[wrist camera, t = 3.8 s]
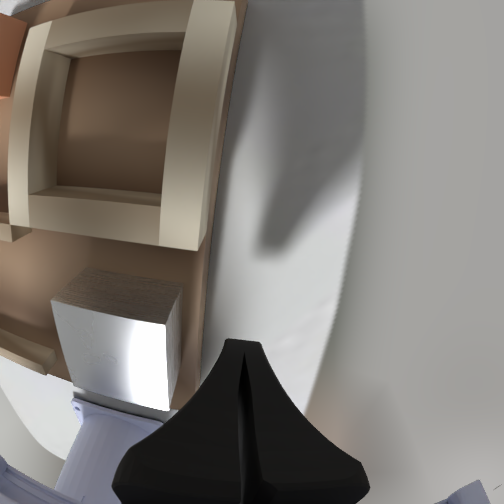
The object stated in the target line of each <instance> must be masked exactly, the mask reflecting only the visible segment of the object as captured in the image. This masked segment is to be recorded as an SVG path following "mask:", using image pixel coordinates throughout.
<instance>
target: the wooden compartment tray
mask: <svg viewBox="0 0 504 504" xmlns="http://www.w3.org/2000/svg"><path fill="white" fill-rule="evenodd" d="M154 1H170V0H50V1H47V2H44V3H42V4H39V5H36V6H34V7H31V8H29V9H26V10H24V11H22V12H19V13H17V14H15V15H12V16H11V17H13V18H16V19H19V20H21V21H24V22H27V23H28V24H27V27H26V30H25V33H24V36H23V40H22V43H21V47H20V51H19V54H18V58H17V63H16V67H15V72H14V76H13V81H12V87H11V93H10V97H8V98H4V99H0V355H1V356H3V357H5V358H7V359H9V360H11V361H13V362H15V363H18V364H20V365H22V366H24V367H26V368H29V369H31V370H33V371H36V372H38V373H41V374H43V375H45V376H46V375H47V374H51V375H53V376H56V377H59V378H61V379H64V380H67V381H70V382H72V380H71V377H70V374H69V370H68V367H67V364H66V361H65V358H64V354H63V351H62V347H61V343H60V340H59V336H58V332H57V328H56V324H55V319H54V315H53V310H52V305H51V299H52V298H53V297H54V296H55V295H56V294H57V293H58V292H59V291H61V290H62V289H63V288H64V287H65V286H66V285H67V284H68V283H69V282H70V281H71V280H73V279H74V278H75V277H76V276H77V275H78V274H79V273H80V272H82V271H83V270H84V269H85V268H86V267H88V268H94V269H99V270H105V271H110V272H116V273H122V274H128V275H133V276H139V277H146V278H152V279H158V280H164V281H171V282H177V283H183V298H182V329H181V367H180V371H179V374H178V378H177V382H176V385H175V389H174V393H173V397H172V401H171V405H170V408H171V409H177V410H180V409H181V408H182V407H183V406H184V405H185V404H186V403H187V402H188V401H189V400H190V398H191V397H192V396H193V395H194V394H195V393H196V391H197V390H198V389H199V385H200V373H201V356H202V341H203V327H204V314H205V302H206V290H207V279H208V269H209V258H210V249H211V239H212V230H213V221H214V212H215V204H216V195H217V187H218V179H219V172H220V164H221V157H222V150H223V143H224V136H225V129H226V122H227V116H228V109H229V103H230V96H231V90H232V84H233V78H234V73H235V67H236V61H237V56H238V50H239V45H240V39H241V34H242V29H243V24H244V19H245V14H246V9H247V4H248V0H220V1H235V9H236V18H237V28H236V33H235V38H234V43H233V49H232V54H231V59H230V65H229V71H228V76H227V82H226V88H225V94H224V101H223V107H222V113H221V120H220V127H219V133H218V140H217V148H216V155H215V162H214V170H213V178H212V186H211V194H210V203H209V212H208V221H207V231H206V234H205V236H204V238H203V240H202V243H201V245H200V247H199V249H198V251H193V250H185V249H178V248H171V247H164V246H156V245H149V244H142V243H135V242H128V241H121V240H114V239H106V238H99V237H92V236H85V235H78V234H72V233H65V232H58V231H51V230H44V229H37V228H30V227H24V226H17V225H10V220H9V206H8V147H9V133H10V122H11V113H12V106H13V99H14V92H15V87H16V81H17V76H18V71H19V67H20V62H21V58H22V54H23V50H24V47H25V43H26V39H27V36H28V33H29V29H30V28H31V27H34V26H37V25H40V24H43V23H46V22H49V21H52V20H56V19H59V18H63V17H66V16H70V15H74V14H78V13H83V12H87V11H92V10H96V9H102V8H107V7H113V6H119V5H126V4H134V3H143V2H154ZM181 53H182V50H154V51H133V52H120V53H110V54H101V55H94V56H87V57H80V58H74V59H71V62H70V66H69V71H68V76H67V81H66V87H65V93H64V99H63V106H62V113H61V121H60V131H59V142H58V157H57V186H72V187H88V188H101V189H114V190H126V191H137V192H147V193H157V194H162V186H163V174H164V164H165V155H166V146H167V138H168V130H169V123H170V115H171V109H172V102H173V96H174V90H175V84H176V78H177V73H178V68H179V62H180V57H181Z"/></svg>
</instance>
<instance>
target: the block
mask: <svg viewBox="0 0 504 504" xmlns="http://www.w3.org/2000/svg"><path fill="white" fill-rule="evenodd" d="M182 298H183V283H177V282H171V281H164V280H158V279H152V278H146V277H139V276H133V275H128V274H122V273H116V272H110V271H105V270H99V269H94V268H88V267H86V268H85V269H84V270H83V271H82V272H80V273H79V274H78V275H77V276H76V277H75V278H74V279H73V280H71V281H70V282H69V283H68V284H67V285H66V286H65V287H64V288H63V289H62V290H61V291H59V292H58V293H57V294H56V295H55V296H54V297H53V298H52V299H51V305H52V310H53V315H54V319H55V324H56V328H57V332H58V336H59V340H60V343H61V347H62V351H63V354H64V358H65V361H66V364H67V367H68V370H69V374H70V377H71V380H72V383H73V385H74V386H76V387H79V388H82V389H85V390H88V391H91V392H94V393H97V394H101V395H104V396H107V397H111V398H115V399H118V400H122V401H126V402H130V403H134V404H138V405H142V406H147V407H151V408H156V409H161V410H166V411H169V408H170V405H171V401H172V397H173V393H174V389H175V385H176V382H177V378H178V374H179V371H180V367H181V329H182Z"/></svg>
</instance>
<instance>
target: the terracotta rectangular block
mask: <svg viewBox="0 0 504 504" xmlns="http://www.w3.org/2000/svg"><path fill="white" fill-rule="evenodd" d="M27 24H28V23H27V22H24V21H21V20H19V19H16V18H13V17H11V16H8V15H5V14H2V13H0V99H4V98H8V97H10V93H11V87H12V81H13V76H14V72H15V67H16V63H17V58H18V54H19V51H20V47H21V43H22V40H23V36H24V33H25V30H26V27H27Z"/></svg>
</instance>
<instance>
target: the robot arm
mask: <svg viewBox="0 0 504 504" xmlns="http://www.w3.org/2000/svg"><path fill="white" fill-rule="evenodd" d="M71 404H72V406H73V409H74V411H75V413H76V415H77V418H78V420H79V422H80V424H81V428H80V430H79V432H78V434H77V436H76V439H75V441H74V443H73V445H72V447H71V450H70V452H69V454H68V457H67V459H66V461H65V464H64V466H63V468H62V471H61V473H60V475H59V478H58V480H57V483H56V485H55V488H54V490H53V489H51V488H49V487H47V486H45V485H43V484H41V483H39V482H37V481H35V480H34V479H32V478H30V477H28V476H27V475H25V474H23V473H21V472H20V471H18V470H16V469H15V468H13V467H11V466H10V465H8V464H7V462H6V461H5V460H4V458H3V457H1V455H0V504H356V503H357V502H358V501H360V500H361V499H362V498H363V497H364V496H365V495H366V494H367V493H368V492H369V490H370V485H369V481H368V478H367V476H366V473H365V471H364V468H363V466H362V464H361V462H359V461H358V460H356V459H354V458H353V457H351V456H350V455H348V454H347V453H345V452H344V451H342V450H341V449H339V448H338V447H337V446H335V445H334V444H333V443H332V442H330V441H329V440H328V439H327V438H326V437H324V436H323V435H322V434H321V433H320V432H319V431H318V430H317V429H316V428H315V427H314V426H313V425H312V424H311V423H310V422H309V421H308V420H307V419H306V418H305V417H304V415H303V414H302V413H301V412H300V411H299V410H298V408H297V407H296V406H295V405H294V403H293V402H292V400H291V399H290V398H289V396H288V395H287V393H286V392H285V390H284V389H283V387H282V386H281V384H280V382H279V381H278V379H277V377H276V375H275V373H274V372H273V370H272V368H271V366H270V364H269V362H268V360H267V357H266V355H265V353H264V350H263V348H262V345H261V343H260V342H255V341H246V340H238V339H230V338H228V339H226V340H225V342H224V346H223V349H222V351H221V354H220V356H219V358H218V360H217V362H216V363H215V365H214V367H213V368H212V370H211V372H210V373H209V375H208V376H207V378H206V379H205V381H204V382H203V383H202V385H201V386H200V388H199V389H198V390H197V391H196V393H195V394H194V395H193V396H192V397H191V398H190V400H189V401H188V402H187V403H186V404H185V405H184V406H183V407H182V408H181V409H180V410H179V411H178V412H177V413H176V414H175V415H174V416H173V417H172V418H170V419H169V420H168V421H167V422H166V423H164V424H163V423H162V422H160V421H155V420H151V419H146V418H142V417H138V416H134V415H130V414H126V413H122V412H119V411H115V410H111V409H108V408H105V407H101V406H98V405H95V404H92V403H89V402H86V401H83V400H80V399H77V398H73V399H72V401H71ZM435 504H490V502H489V499H488V497H487V495H486V492H485V490H484V488H483V486H482V484H481V482H480V480H476V481H474V482H472V483H470V484H468V485H466V486H464V487H462V488H460V489H459V490H457V491H455V492H454V493H453V494H451V495H450V496H449V497H448V498H447V499H445V500H442V501H440V502H438V503H435Z"/></svg>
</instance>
